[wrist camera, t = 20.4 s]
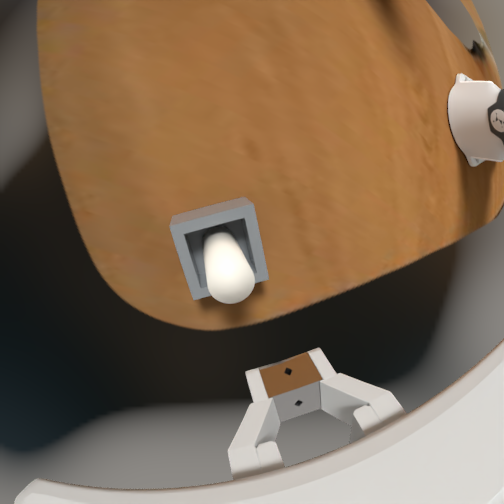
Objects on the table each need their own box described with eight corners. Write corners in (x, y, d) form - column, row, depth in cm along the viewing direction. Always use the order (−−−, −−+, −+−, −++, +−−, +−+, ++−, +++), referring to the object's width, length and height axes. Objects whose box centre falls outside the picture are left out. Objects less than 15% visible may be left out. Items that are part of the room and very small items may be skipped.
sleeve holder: (244, 196, 33) (253, 203, 28) (258, 262, 36) (269, 279, 32) (172, 215, 32) (169, 226, 27) (192, 281, 35) (193, 300, 31)
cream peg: (231, 222, 33) (250, 255, 23) (238, 253, 34) (258, 296, 24) (198, 230, 32) (201, 267, 22) (206, 261, 34) (214, 308, 24)
